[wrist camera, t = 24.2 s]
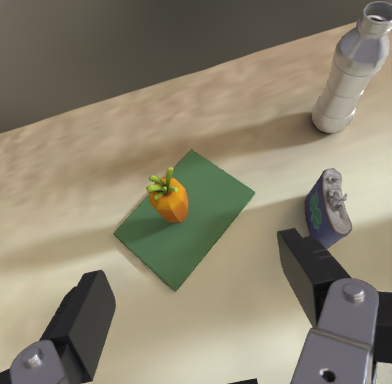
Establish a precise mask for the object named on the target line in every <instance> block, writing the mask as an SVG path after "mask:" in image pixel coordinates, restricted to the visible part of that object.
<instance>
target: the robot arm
mask: <svg viewBox="0 0 392 384" xmlns="http://www.w3.org/2000/svg"><path fill="white" fill-rule="evenodd" d="M277 238H278V245H279V253H280V260H281V265H282V268H283V271H284V274H285V276H286V278H287V280H288V281H289V283H290V285H291V287H292V289H293V291H294V293H295V295H296V297H297V298H298V300H299V302H300V304H301V306H302V308H303V310H304V312H305V314H306V315H307V317H308V319H309V321H310V323H311V325H312V327H313V328H311V329H310V330H309V332H308V334H307V337H306V340H305V343H304V346H303V349H302V351H301V354H300V357H299V360H298V363H297V366H296V368H295V371H294V374H293V377H292V380H291V383H290V384H376V375H377V366H378V362H384V363H392V293H390V292H378V291H376V289H375V288H374V287H373V286H372V285H370V284H368V283H367V282H365V281H362V280H358V279H353V278H351V277H350V276H349V274H348V273H347V272H346V271H345V270H344V269H343V267H342V266H341V265H340V264H339V263H338V262H337V261H336V259H335V258H334V257H332V255H331V254H330V253H329V251H328V250H326V248H325V247H324V246H323V244H322V243H321V242H320V241H318V240H316V239H314V238H312V237H310V236H309V237H304V238H302V237H301V235H300V234H299V233H298V231H297V230H296V229H295V228H291V229H286V230H282V231H278V232H277ZM115 306H116V304H115V297H114V295H113V292H112V290H111V287H110V285H109V283H108V280H107V278H106V275H105V273H104V272H103V271H102V270H98V271H93V272H88V273H85V274H83V276H82V278H81V280H80V281H79V283H78V285H77V286H76V287H74V288H73V289H72V290H71V291H70V292H69V293H68V294H67V295H66V296H65V297H64V299H63V300H62V302H61V304H60V307H58V309H57V311H56V313H55V315H54V316H53V318H52V319H51V321H50V323H49V325H48V326H47V328H46V330H45V332H44V333H43V335H42V337H41V338H40V340H39V341H38V342H35V343H33V344H31V345H30V346H28V347H27V348H25V349H24V350H23V351H22V352H21V353H20V354H19V355H18V356H17V357H16V358H15V359H14V361H13V362H12V364H11V367H10V369H7V370H5V371H3V372H1V373H0V384H81V383H86V382H91V381H93V378H94V375H95V372H96V369H97V366H98V362H99V359H100V356H101V353H102V350H103V347H104V344H105V340H106V337H107V334H108V331H109V328H110V325H111V321H112V318H113V315H114V312H115ZM229 384H258V382H257V378H255V379H250V380H245V381H240V382H234V383H229Z"/></svg>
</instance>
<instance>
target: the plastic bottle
mask: <svg viewBox="0 0 392 384" xmlns="http://www.w3.org/2000/svg"><path fill="white" fill-rule="evenodd" d="M391 29H392V4H390V3H387V2H382V1H381V2H380V1H378V2H372V3H370V4H368V5H367V6H366V7H365V8H364V10H363V12H362V14H361V17H360V18H359V19H358V22H357V24H356V27H355V28H353V29H352V30H350V31H349V32H348V33H346V34H345V35H344V36H343V37H342V38H341V40H340V41H339V42H338V44H337V46H336V49H335V52H334V57H333V62H332V67H331V72H330V75H329V78H328V81H327V84H326V86H325V88H324V90H323V92H322V94H321V96H320V97H319V98H318V100H317V101H316V103H315V105H314V107H313V111H312V120H313V123H314V124H315V126H316V127H317V128H318V129H319V130H321V131H323V132H326V133H335V132H339V131H342V130H343V129H345V127H346V126H347V125H348V124H349V123H350V122H351V120H352V118H353V116H354V113H355V108H356V106H357V103H358V101H359V99H360V96H361V94H362V93H363V91H364V90H365V88H366V87H367V85H368V84H369V82H370V81H371V80H372V78H373V77H374V76H375V75H376V73H377V72H378V71H379V70H380V68H381V67H382V66H383V64H384V63H385V61H386V60H387V58H388V53H389V49H390V48H389V39H388V36H387V34H388V33H389V32H390V31H391Z"/></svg>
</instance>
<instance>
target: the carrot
mask: <svg viewBox="0 0 392 384" xmlns="http://www.w3.org/2000/svg"><path fill="white" fill-rule="evenodd" d="M173 170H174V168H169V169H168V171H167V174H166V178H158V177H156V176H154V175H152V176H150V178H149V180H150V181H152V182H155V184H153V185H149V186H147V187H146V189H147V191H148V193H150V194H149V203H150V204H151V205H152V206H153V207H154V208H155V209H156V211H157V212H158V213H159V214H160V215H161V216H162V217H163V218H164V219H165V220H166V221H168V222H171V223H181V222H183V221H184V220H185V219H186V218H187V216H188V197H187V193H186V190H185V188H184V187H183V186H182V185H181V184H180V183H179V182H178V181H177V180H176V179H175V178H171V177H172V174H173Z"/></svg>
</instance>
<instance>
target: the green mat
mask: <svg viewBox="0 0 392 384" xmlns="http://www.w3.org/2000/svg"><path fill="white" fill-rule="evenodd" d="M165 178H166V177H165ZM171 178H175V179H176V180H177V181H178V182H179V183H180V184H181V185H182V186H183V187H184V188H185V190H186V193H187V197H188V216H187V218H186V219H185V220H184V221H183V222H181V223H171V222H168V221H166V220H165V219H164V218H163V217H162V216H161V215H160V214H159V213H158V212H157V211H156V209H155V208H154V207H153V206H152V205H151V204H150V203H149V196H148V197H147V198H146V199H145V200H144V201H143V202H142V203H141V204H140V205H139V206H138V208H137V209H136V210H135V211H134V212H133V213H132V214H131V215H130V216H129V217H128V218H127V219H126V220H125V222H124V223H123V224H122V225H121V226H120V227H119V228H118V229H117V230H116V231H115V232H114V235H115V236H116V237H117V238H119V239H120V240H121V241H122V242H123V243H124V244H125V245H126V246H127V247H128V248H129V249H130V250H131V251H132V252H133V253H135V254H136V255H137V256H138V257H139V258H140V259H141V260H142V261H143V262H144V263H145V264H146V265H147V266H148V267H149V268H151V269H152V270H153V271H154V272H155V273H156V274H157V275H158V276H159V277H160V278H161V279H162V280H163V281H164V282H165V283H167V284H168V285H169V286H170V287H171V288H172V289H173V290H174V291H177V289H178V288H179V287H180V286H181V285H182V283H183V282H184V281H185V280H186V278H187V277H188V276H189V275H190V273H191V272H192V271H193V270H194V269H195V267H196V266H197V265H198V264H199V262H200V261H201V260H202V259H203V257H204V256H205V255H206V254H207V253H208V251H209V250H210V249H211V248H212V246H213V245H214V244H215V243H216V241H217V240H218V239H219V238H220V237H221V235H222V234H223V233H224V232H225V230H226V229H227V228H228V227H229V225H230V224H231V223H232V222H233V221H234V219H235V218H236V217H237V216H238V214H239V213H240V212H241V211H242V209H243V208H244V207H245V206H246V205H247V203H248V202H249V201H250V200H251V198H252V197H253V196H254V195H255V191H253V190H252V189H250V188H249V187H247V186H246V185H244V184H243V183H241V182H240V181H238V180H237V179H235V178H234V177H232V176H231V175H229V174H228V173H226V172H225V171H223V170H222V169H220V168H219V167H217V166H216V165H214V164H213V163H211V162H210V161H208V160H207V159H205V158H204V157H202V156H201V155H199V154H198V153H196V152H195V151H193V150H192V149H191V150H190V151H189V153H188V154H187V155H186V156H185V157H184V158H183V159H182V160H181V161H180V162H179V163H178V164H177V165H176V167H175V168H174V170H173V174H172V177H171Z"/></svg>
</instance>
